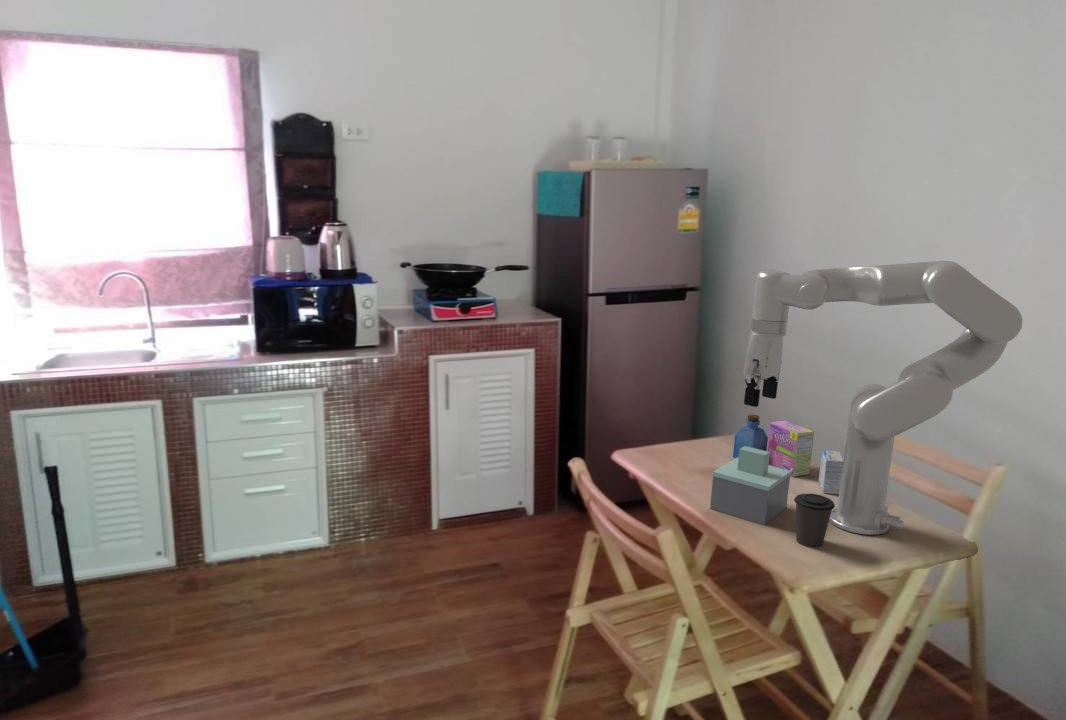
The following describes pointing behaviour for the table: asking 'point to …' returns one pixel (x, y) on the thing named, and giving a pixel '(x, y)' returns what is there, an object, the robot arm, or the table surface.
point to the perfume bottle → (750, 436)
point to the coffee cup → (812, 518)
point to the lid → (752, 470)
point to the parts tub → (749, 500)
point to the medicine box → (830, 472)
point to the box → (790, 447)
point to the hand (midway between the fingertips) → (760, 401)
